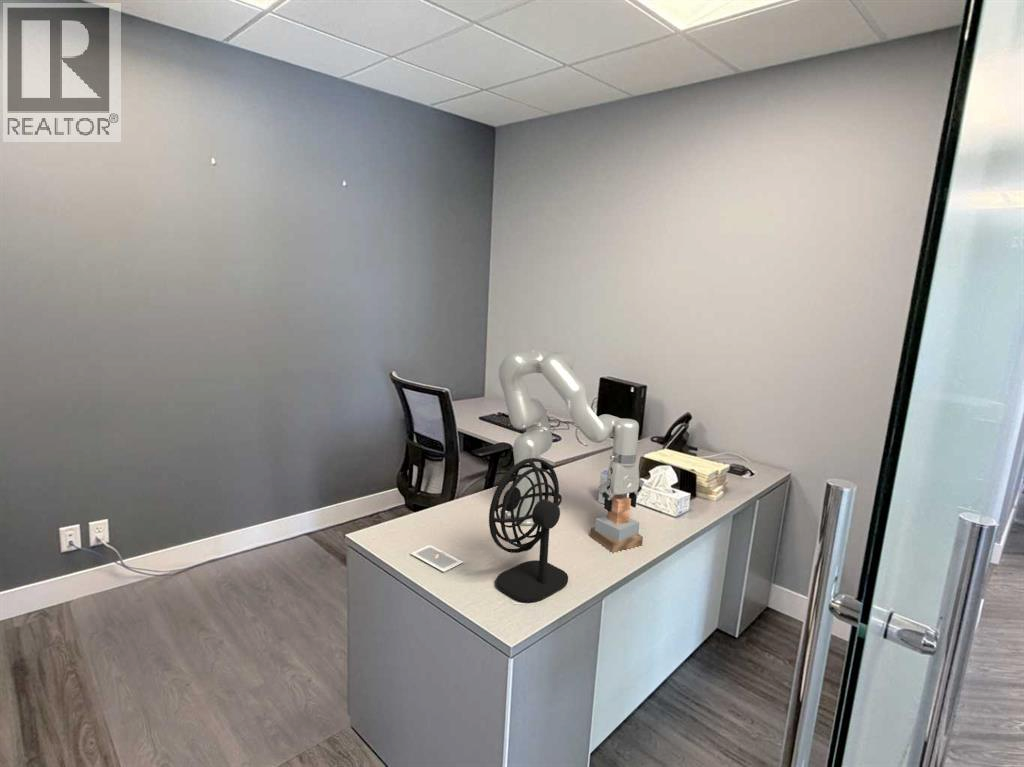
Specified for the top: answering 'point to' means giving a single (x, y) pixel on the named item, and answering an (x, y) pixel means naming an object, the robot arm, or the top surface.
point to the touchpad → (437, 558)
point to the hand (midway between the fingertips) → (620, 508)
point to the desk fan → (528, 533)
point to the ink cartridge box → (603, 479)
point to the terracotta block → (620, 509)
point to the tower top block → (616, 528)
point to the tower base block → (615, 545)
